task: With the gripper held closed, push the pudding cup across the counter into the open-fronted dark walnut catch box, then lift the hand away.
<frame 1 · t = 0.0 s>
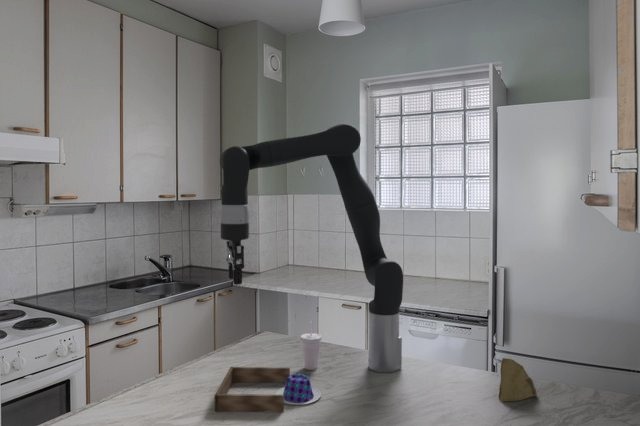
hand: (235, 281, 129), 29 cm above the countertop, tool pointing down, fingers open, 8 cm apart
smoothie: (310, 368, 145), on the countertop
catch box: (256, 395, 125), on the countertop
pudding: (298, 397, 125), on the countertop
rock: (517, 398, 125), on the countertop
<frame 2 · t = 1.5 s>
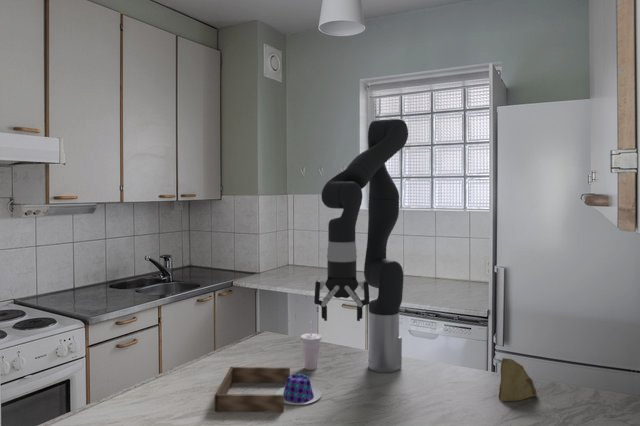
hand: (341, 320, 124), 20 cm above the countertop, tool pointing down, fingers open, 8 cm apart
nothing on the countertop moved.
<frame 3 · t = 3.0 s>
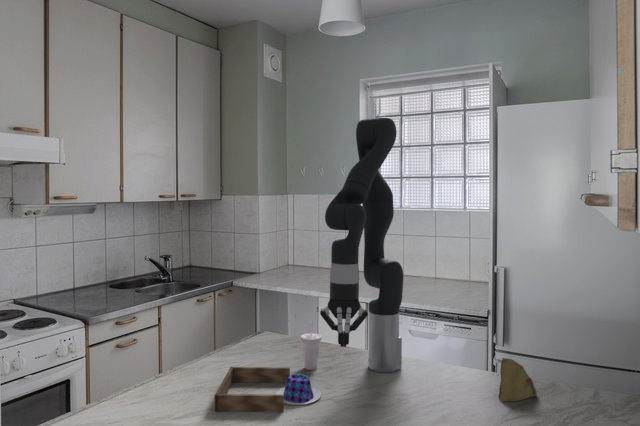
hand: (343, 345, 124), 13 cm above the countertop, tool pointing down, fingers closed
nothing on the countertop moved.
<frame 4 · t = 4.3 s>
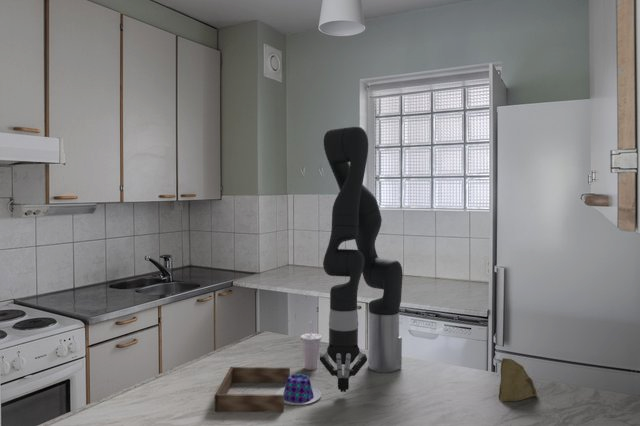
hand: (343, 390, 125), 2 cm above the countertop, tool pointing down, fingers closed
nothing on the countertop moved.
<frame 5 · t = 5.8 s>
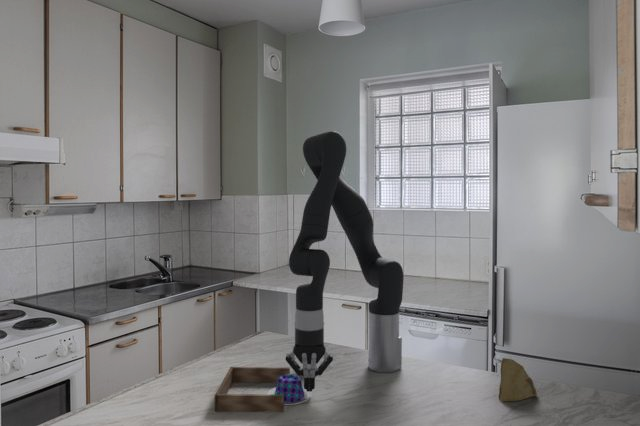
hand: (309, 390, 125), 2 cm above the countertop, tool pointing down, fingers closed
pudding: (289, 398, 125), on the countertop, touching gripper
everything else where it was.
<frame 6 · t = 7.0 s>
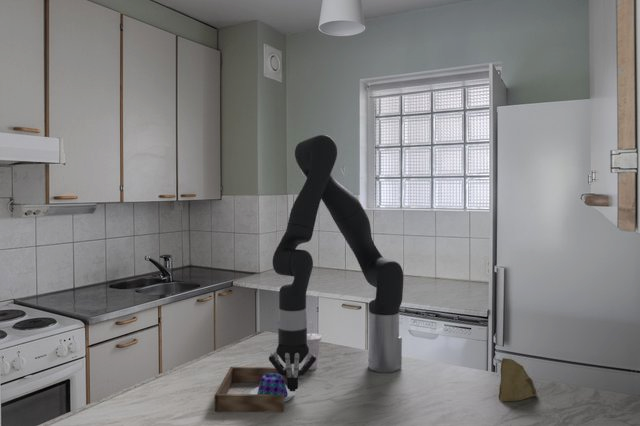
hand: (292, 390, 125), 2 cm above the countertop, tool pointing down, fingers closed
pudding: (272, 396, 126), on the countertop
everything else where it was.
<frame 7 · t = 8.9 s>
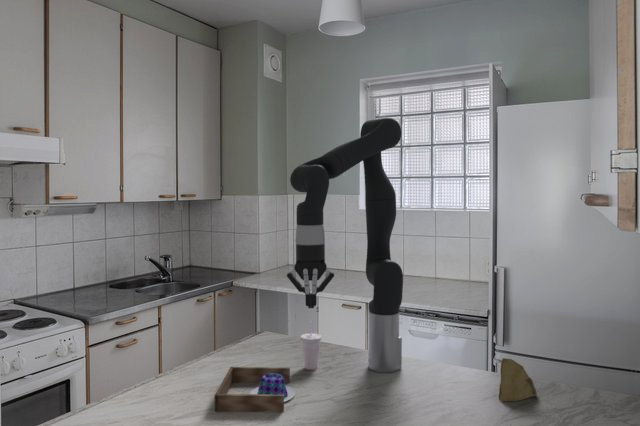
hand: (311, 307, 125), 23 cm above the countertop, tool pointing down, fingers closed
nothing on the countertop moved.
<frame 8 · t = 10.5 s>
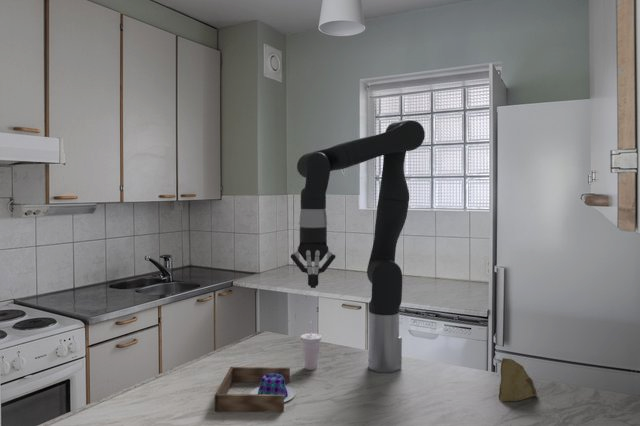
hand: (313, 287, 132), 27 cm above the countertop, tool pointing down, fingers closed
nothing on the countertop moved.
at the end: pudding inside the target area on the catch box (4.2 cm from its centre), point -0.5 cm above the catch box's base; pudding tilted 0°; pudding moved 6.8 cm from its start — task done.
